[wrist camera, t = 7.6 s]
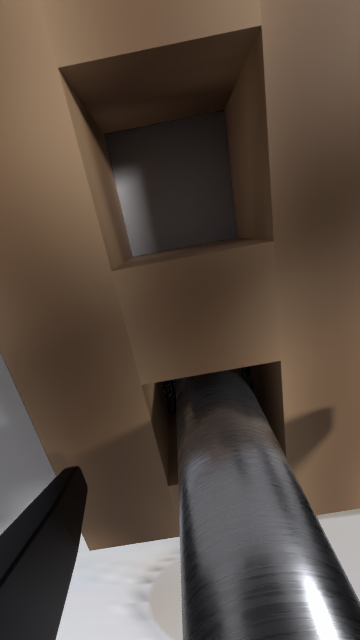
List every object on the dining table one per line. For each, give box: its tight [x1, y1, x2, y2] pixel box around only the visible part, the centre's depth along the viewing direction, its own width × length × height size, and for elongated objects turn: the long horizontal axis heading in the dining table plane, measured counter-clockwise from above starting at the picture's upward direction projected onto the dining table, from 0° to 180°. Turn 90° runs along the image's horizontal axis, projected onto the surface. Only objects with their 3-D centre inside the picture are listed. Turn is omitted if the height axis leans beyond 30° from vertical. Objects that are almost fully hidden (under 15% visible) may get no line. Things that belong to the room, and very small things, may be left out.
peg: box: [175, 368, 360, 640], centre depth 8 cm, size 3×3×10 cm
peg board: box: [0, 0, 360, 551], centre depth 9 cm, size 12×18×4 cm, turn 10°
